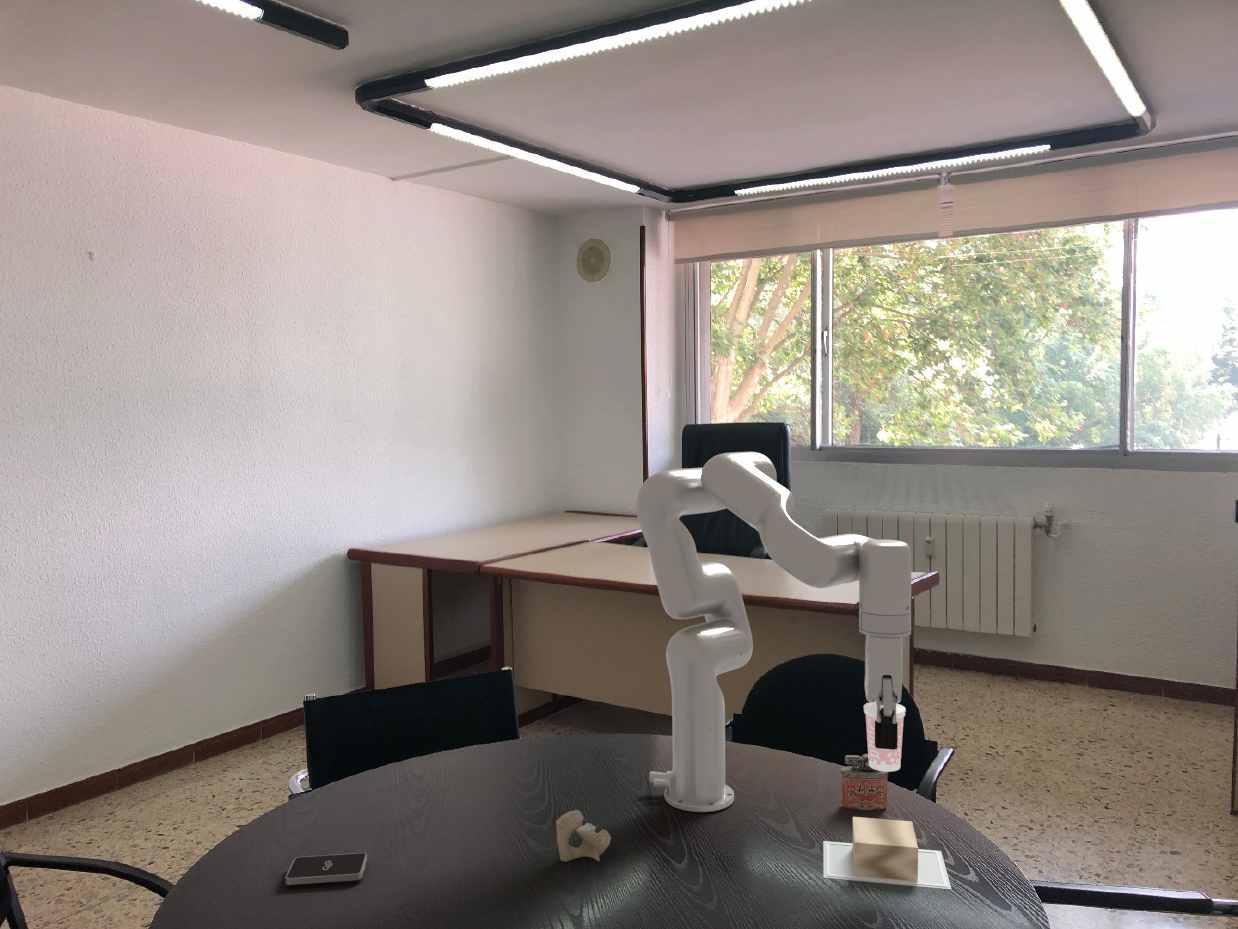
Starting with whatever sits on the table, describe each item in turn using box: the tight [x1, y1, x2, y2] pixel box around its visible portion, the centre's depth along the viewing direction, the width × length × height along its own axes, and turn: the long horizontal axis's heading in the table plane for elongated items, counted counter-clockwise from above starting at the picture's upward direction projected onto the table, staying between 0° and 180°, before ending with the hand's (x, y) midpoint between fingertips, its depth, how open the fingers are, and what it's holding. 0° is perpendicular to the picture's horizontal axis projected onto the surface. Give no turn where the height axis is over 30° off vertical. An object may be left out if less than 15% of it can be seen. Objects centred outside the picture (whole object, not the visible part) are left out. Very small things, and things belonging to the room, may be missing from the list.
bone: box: [555, 809, 612, 863], centre depth 147 cm, size 9×6×10 cm
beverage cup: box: [863, 701, 907, 773], centre depth 140 cm, size 6×6×14 cm
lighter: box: [840, 753, 889, 811], centre depth 162 cm, size 8×3×10 cm, turn 84°
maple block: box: [852, 816, 919, 881], centre depth 142 cm, size 9×9×5 cm
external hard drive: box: [285, 852, 368, 890], centre depth 142 cm, size 7×11×2 cm, turn 97°
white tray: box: [822, 840, 952, 891], centre depth 142 cm, size 18×12×1 cm, turn 78°
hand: (884, 739), depth 141 cm, fingers closed on beverage cup, 6 cm apart
